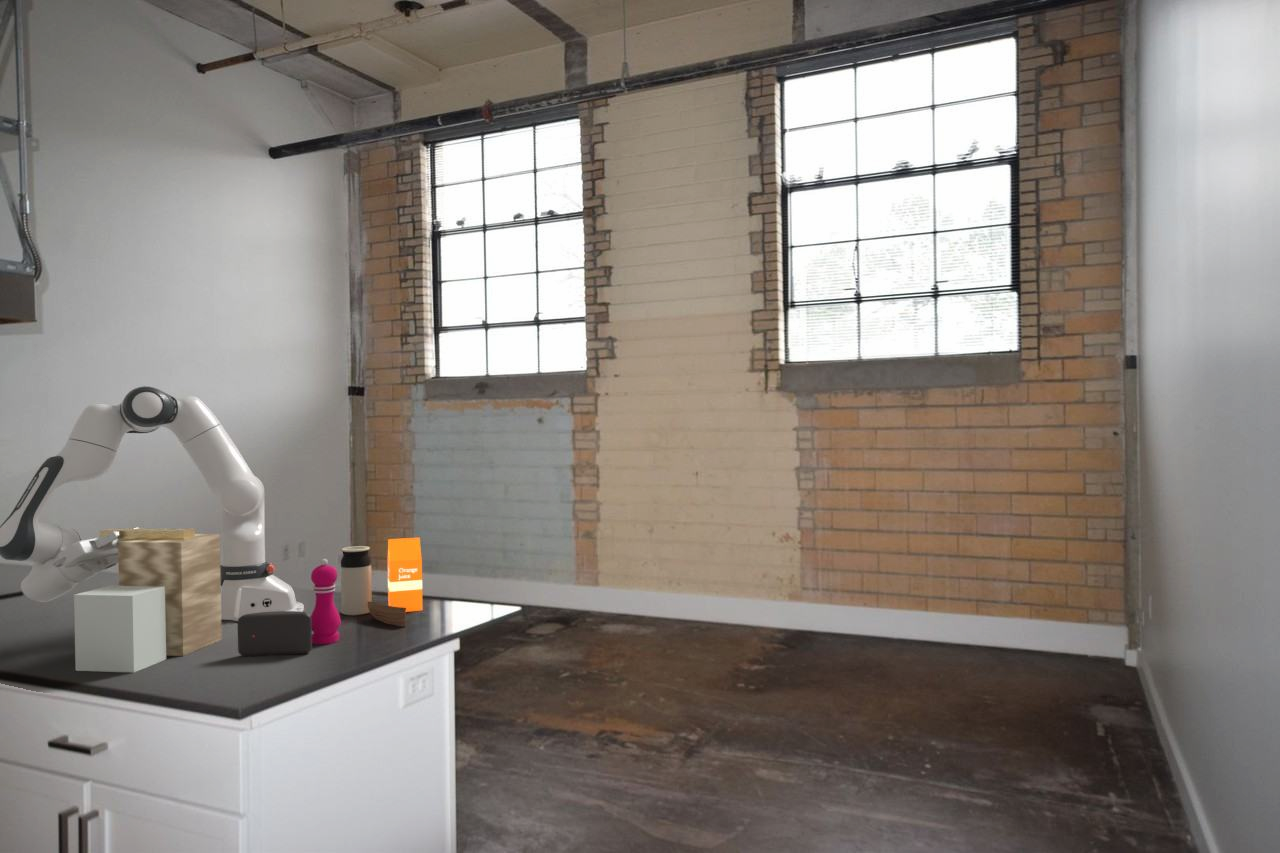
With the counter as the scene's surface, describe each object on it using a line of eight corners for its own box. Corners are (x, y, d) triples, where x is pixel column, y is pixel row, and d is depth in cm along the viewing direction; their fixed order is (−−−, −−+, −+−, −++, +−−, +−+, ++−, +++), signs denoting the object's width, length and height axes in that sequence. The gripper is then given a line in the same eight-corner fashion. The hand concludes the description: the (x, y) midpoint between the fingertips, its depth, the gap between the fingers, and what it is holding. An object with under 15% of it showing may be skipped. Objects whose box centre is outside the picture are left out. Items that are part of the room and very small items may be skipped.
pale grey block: (75, 670, 185) (74, 594, 185) (110, 657, 195) (109, 585, 195) (134, 672, 183) (132, 595, 183) (166, 659, 193) (164, 586, 193)
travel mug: (372, 614, 235) (371, 549, 235) (342, 617, 232) (341, 551, 232) (370, 608, 242) (369, 545, 242) (341, 611, 239) (339, 547, 239)
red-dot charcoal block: (316, 649, 200) (315, 609, 200) (310, 654, 195) (310, 613, 195) (244, 652, 198) (243, 611, 198) (236, 657, 194) (236, 616, 194)
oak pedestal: (120, 654, 198) (118, 542, 197) (162, 638, 212) (160, 533, 211) (183, 655, 195) (181, 542, 195) (221, 640, 209) (219, 534, 209)
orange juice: (388, 607, 243) (386, 537, 243) (419, 604, 246) (418, 535, 246) (390, 613, 236) (389, 541, 236) (423, 610, 239) (421, 539, 239)
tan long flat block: (99, 538, 204) (99, 530, 204) (112, 536, 208) (112, 528, 208) (183, 539, 201) (183, 530, 201) (195, 537, 205) (194, 528, 204)
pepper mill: (307, 646, 202) (306, 562, 202) (311, 638, 209) (309, 557, 209) (340, 643, 204) (338, 560, 204) (342, 636, 211) (340, 555, 211)
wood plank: (409, 626, 221) (409, 607, 221) (403, 628, 219) (402, 608, 219) (373, 618, 230) (373, 600, 230) (367, 620, 228) (366, 601, 228)
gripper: (41, 555, 197) (87, 525, 195) (108, 542, 217) (151, 515, 215) (54, 579, 196) (100, 549, 194) (120, 564, 216) (162, 537, 215)
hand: (127, 531), depth 205 cm, fingers open, 5 cm apart
